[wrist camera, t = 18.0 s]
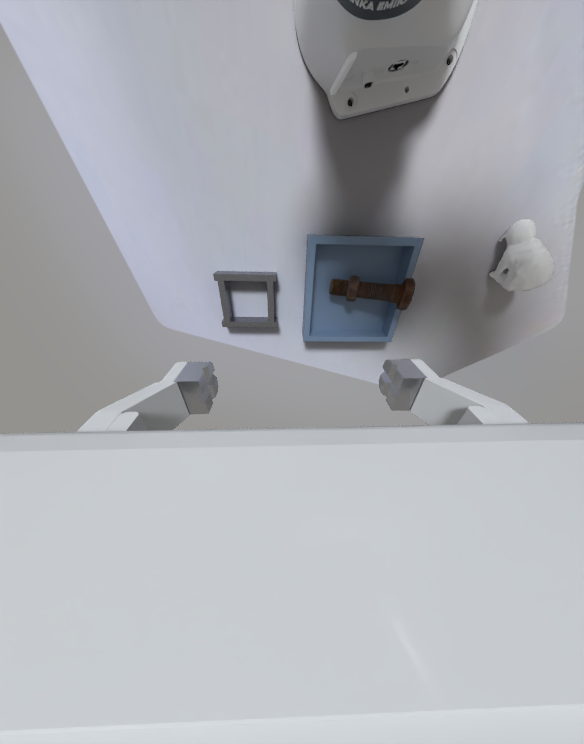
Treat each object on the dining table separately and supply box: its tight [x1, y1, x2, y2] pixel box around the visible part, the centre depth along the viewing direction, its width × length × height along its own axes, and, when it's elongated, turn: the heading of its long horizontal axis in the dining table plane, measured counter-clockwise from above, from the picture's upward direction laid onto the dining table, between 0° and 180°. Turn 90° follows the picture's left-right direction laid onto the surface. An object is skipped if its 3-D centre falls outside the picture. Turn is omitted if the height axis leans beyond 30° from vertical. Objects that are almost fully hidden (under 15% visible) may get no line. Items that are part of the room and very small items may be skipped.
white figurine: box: [489, 219, 554, 291], centre depth 39 cm, size 6×8×12 cm
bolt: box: [329, 275, 415, 310], centre depth 41 cm, size 6×5×15 cm
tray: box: [302, 235, 424, 342], centre depth 44 cm, size 20×20×4 cm
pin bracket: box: [213, 271, 277, 327], centre depth 45 cm, size 12×11×3 cm
